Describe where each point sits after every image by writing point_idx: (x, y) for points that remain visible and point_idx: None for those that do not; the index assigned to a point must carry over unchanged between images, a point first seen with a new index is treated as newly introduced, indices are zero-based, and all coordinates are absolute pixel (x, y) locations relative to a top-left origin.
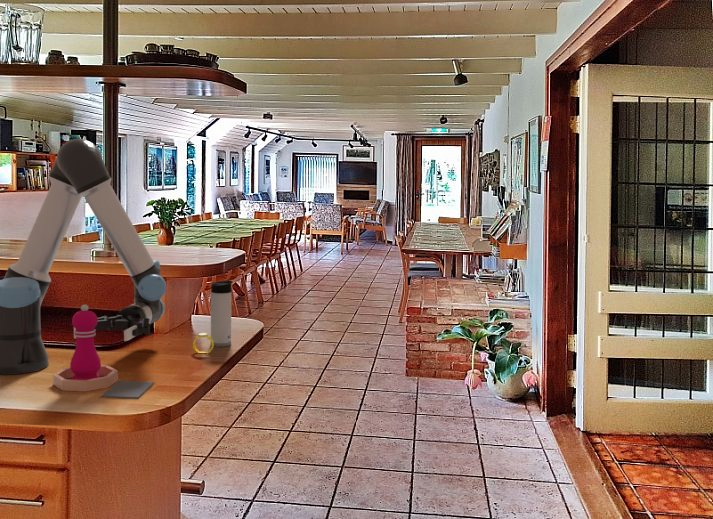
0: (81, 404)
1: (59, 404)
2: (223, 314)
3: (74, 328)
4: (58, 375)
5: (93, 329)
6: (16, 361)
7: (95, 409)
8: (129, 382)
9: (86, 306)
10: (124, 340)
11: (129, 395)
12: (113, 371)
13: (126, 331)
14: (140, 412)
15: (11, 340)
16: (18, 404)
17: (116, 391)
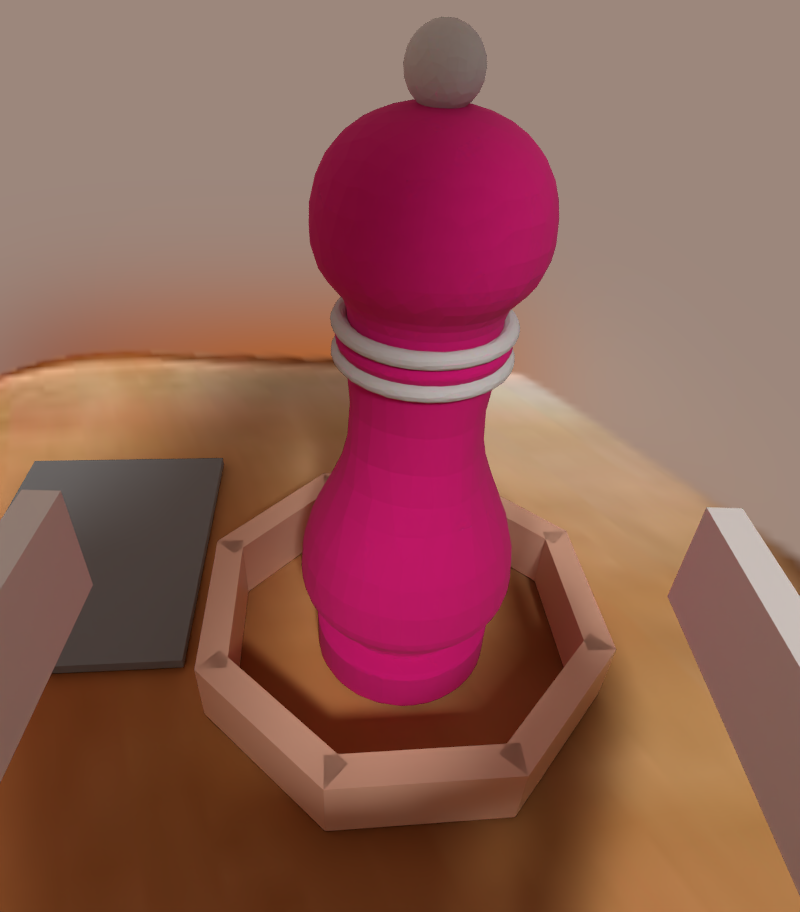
0: (276, 408)
1: None
2: None
3: (728, 511)
4: (530, 528)
5: (347, 306)
6: None
7: (205, 382)
8: (100, 638)
9: (415, 37)
10: (86, 579)
11: (80, 472)
12: (220, 644)
13: (28, 496)
14: (27, 376)
15: None
16: (505, 392)
17: (156, 505)
